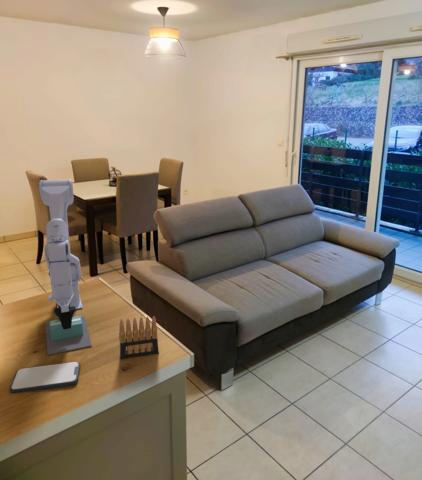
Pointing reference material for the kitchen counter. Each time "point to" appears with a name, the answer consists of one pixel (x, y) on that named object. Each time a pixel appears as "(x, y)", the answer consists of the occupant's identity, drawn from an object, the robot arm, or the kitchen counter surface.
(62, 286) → the robot arm
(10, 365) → the kitchen counter surface
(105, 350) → the kitchen counter surface
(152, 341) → the ammunition clip
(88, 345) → the mat
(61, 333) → the card box
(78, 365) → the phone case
